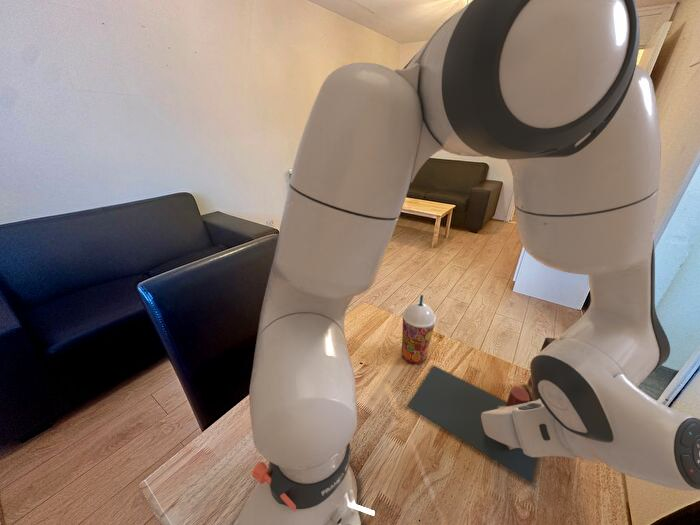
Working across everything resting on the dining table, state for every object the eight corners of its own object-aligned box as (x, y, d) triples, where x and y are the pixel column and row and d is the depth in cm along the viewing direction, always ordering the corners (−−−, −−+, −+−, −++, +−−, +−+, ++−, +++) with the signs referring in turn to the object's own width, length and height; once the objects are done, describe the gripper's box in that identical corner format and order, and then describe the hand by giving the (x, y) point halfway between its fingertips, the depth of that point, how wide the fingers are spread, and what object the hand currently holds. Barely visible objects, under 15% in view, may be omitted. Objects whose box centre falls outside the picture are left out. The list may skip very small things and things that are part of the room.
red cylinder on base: (529, 445, 57) (545, 407, 52) (509, 450, 56) (523, 411, 51) (505, 414, 63) (517, 377, 58) (487, 418, 62) (497, 381, 57)
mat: (531, 485, 51) (532, 483, 51) (406, 407, 65) (407, 406, 65) (542, 422, 62) (543, 420, 61) (433, 367, 75) (433, 365, 75)
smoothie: (392, 355, 79) (397, 295, 70) (410, 341, 84) (417, 283, 75) (417, 372, 74) (426, 310, 65) (435, 356, 79) (446, 296, 70)
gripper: (615, 389, 47) (548, 382, 60) (508, 413, 44) (461, 400, 57) (631, 431, 46) (559, 415, 58) (521, 460, 42) (470, 436, 55)
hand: (510, 408), depth 58 cm, fingers closed on red cylinder on base, 3 cm apart
